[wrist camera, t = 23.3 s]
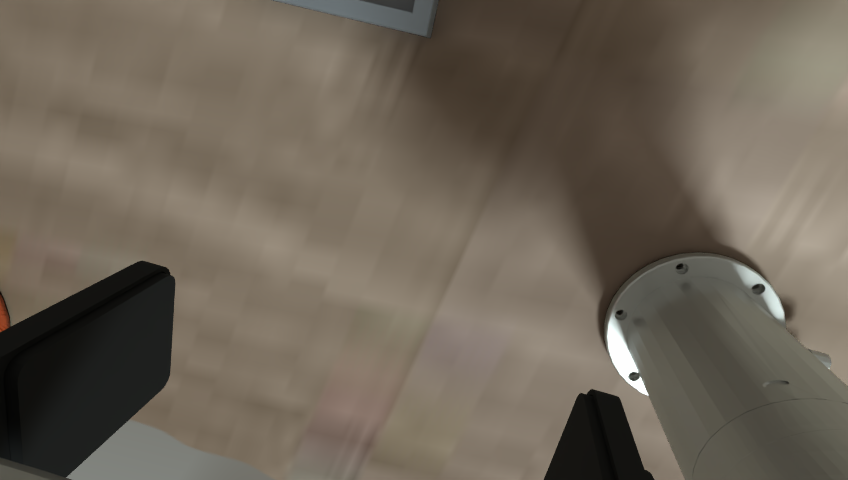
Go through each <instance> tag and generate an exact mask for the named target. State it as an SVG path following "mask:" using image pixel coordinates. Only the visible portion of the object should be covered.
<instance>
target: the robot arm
mask: <svg viewBox="0 0 848 480" xmlns="http://www.w3.org/2000/svg"><path fill="white" fill-rule="evenodd" d="M680 263H681V266H680V267H676V266H677V265H678V264H680ZM754 285H755V286H754ZM753 286H754V287H753ZM174 296H175V279H174V277H173V276H171V275H170V272H169V269H167V268H166V267H163V266H159V265H156V264H152V263H149V262H145V261H139V262H136V263H135V264H133V265H131V266H129V267H127V268H125V269H123V270H121V271H119V272H117V273H115V274H113V275H111V276H109V277H107V278H105V279H103V280H101V281H99V282H97V283H95V284H93V285H92V286H90V287H88V288H86V289H84V290H82V291H80V292H78V293H76V294H74V295H72V296H70V297H68V298H66V299H64V300H62V301H60V302H58V303H56V304H54V305H52V306H50V307H49V308H47V309H45V310H43V311H41V312H39V313H37V314H35V315H33V316H31V317H29V318H27V319H25V320H23V321H21V322H19V323H17V324H15V325H13V326H11V327H9V328H7V329H6V330H4V331H2V332H0V480H71V479H68V478H66V477H67V476H68V475H69V474H70V473H71V472H72V471H74V470H75V469H76V468H77V467H78V466H79V465H80V464H81V463H82V462H83V461H84V460H86V459H87V458H88V457H89V456H90V455H91V454H92V453H93V452H94V451H95V450H96V449H98V448H99V447H100V446H101V445H102V444H103V443H104V442H105V441H106V440H107V439H108V438H109V437H111V436H112V435H113V434H114V433H115V432H116V431H117V430H118V429H119V428H120V427H122V426H123V425H124V424H125V423H126V422H127V421H128V420H129V419H130V418H131V417H132V416H134V415H135V414H136V413H137V412H138V411H139V410H140V409H141V408H142V407H143V406H144V405H146V404H147V403H148V402H149V401H150V400H151V399H152V398H153V397H154V396H155V395H156V394H158V393H159V392H160V391H161V390H162V389H163V388H164V386H165V385H166V383H167V381H168V379H169V376H170V366H171V348H172V331H173V313H174ZM619 310H622V311H621V312H617V311H619ZM604 339H605V343H606V348H607V352H608V354H609V357H610V359H611V362H612V364H613V365H614V367H615V368H616V370H617V372H618V373H619V375H620V376H621V377H622V378H623V379H624V380H625V381H626V382H627V383H628V384H629V385H631V386H632V387H633V388H635V389H636V390H638V391H639V392H641V393H643V394H645V395H647V396H649V398H650V400H651V403H652V405H653V407H654V410H655V412H656V414H657V416H658V419H659V421H660V423H661V426H662V428H663V430H664V432H665V435H666V437H667V439H668V442H669V444H670V446H671V449H672V451H673V453H674V455H675V458H676V460H677V462H678V465H679V467H680V469H681V471H682V474H683V476H684V478H685V480H848V386H847V385H846V384H845V383H844V382H842V381H841V380H840V379H839V378H838V377H837V376H836V375H835V374H834V373H833V372H832V371H831V370H829V369H830V366H831V358H830V356H829V355H827V354H825V353H821V352H818V351H814V350H810V349H807V348H806V347H804V346H803V345H802V344H801V343H800V342H799V341H798V340H797V339H796V338H795V337H794V336H793V335H791V334H790V333H789V332H788V331H787V330H786V321H785V312H784V309H783V306H782V303H781V301H780V298H779V296H778V295H777V293H776V292H775V290H774V289H773V287H772V286H771V284H770V283H768V282H767V281H766V280H765V279H764V278H763V277H762V276H761V275H760V274H759V273H757V272H756V271H755V270H753V269H752V268H750V267H749V266H748V265H746V264H744V263H742V262H740V261H737V260H735V259H733V258H730V257H726V256H723V255H719V254H713V253H701V252H696V253H684V254H678V255H674V256H670V257H666V258H663V259H660V260H658V261H656V262H654V263H651V264H649V265H647V266H646V267H644V268H642V269H641V270H639V271H638V272H636V273H635V274H633V275H632V276H631V277H630V278H629V279H628V280H627V281H626V282H625V283H624V284H623V285H622V286H621V287H620V289H619V290H618V292H617V293H616V294H615V296H614V297H613V299H612V301H611V303H610V306H609V308H608V310H607V314H606V318H605V323H604ZM544 480H654V478H653V476H652V474H651V473H650V472H648V471H647V470H644V467H643V464H642V461H641V458H640V456H639V453H638V450H637V447H636V444H635V441H634V438H633V435H632V432H631V429H630V427H629V424H628V421H627V418H626V415H625V412H624V409H623V406H622V403H621V400H620V399H619V397H617V396H614V395H611V394H607V393H604V392H600V391H597V390H593V389H591V390H590V391H589V392H588V393H587V395H586V394H583V393H580V394H579V395H578V397H577V399H576V401H575V404H574V406H573V409H572V411H571V414H570V416H569V419H568V421H567V424H566V426H565V429H564V431H563V433H562V436H561V438H560V441H559V443H558V446H557V448H556V451H555V453H554V456H553V458H552V461H551V463H550V466H549V468H548V471H547V473H546V476H545V478H544Z"/></svg>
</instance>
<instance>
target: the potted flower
mask: <svg viewBox="0 0 848 480" xmlns="http://www.w3.org/2000/svg"><path fill="white" fill-rule="evenodd" d="M9 327H10V321H9V316H8V313H7V309H6V306H5V303H4V300H3V298H2V296H1V295H0V332H2V331H4V330H6V329H7V328H9Z"/></svg>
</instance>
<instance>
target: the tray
mask: <svg viewBox="0 0 848 480" xmlns="http://www.w3.org/2000/svg"><path fill="white" fill-rule="evenodd" d="M273 1H277V2H281V3H285V4H290V5H294V6H298V7H302V8H306V9H311V10H315V11H319V12H323V13H327V14H331V15H336V16H340V17H344V18H348V19H352V20H357V21H361V22H365V23H369V24H373V25H377V26H382V27H386V28H390V29H394V30H398V31H402V32H407V33H411V34H415V35H419V36H423V37H428V38H431V34H432V29H433V25H434V20H435V15H436V11H437V6H438V1H439V0H273Z"/></svg>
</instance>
